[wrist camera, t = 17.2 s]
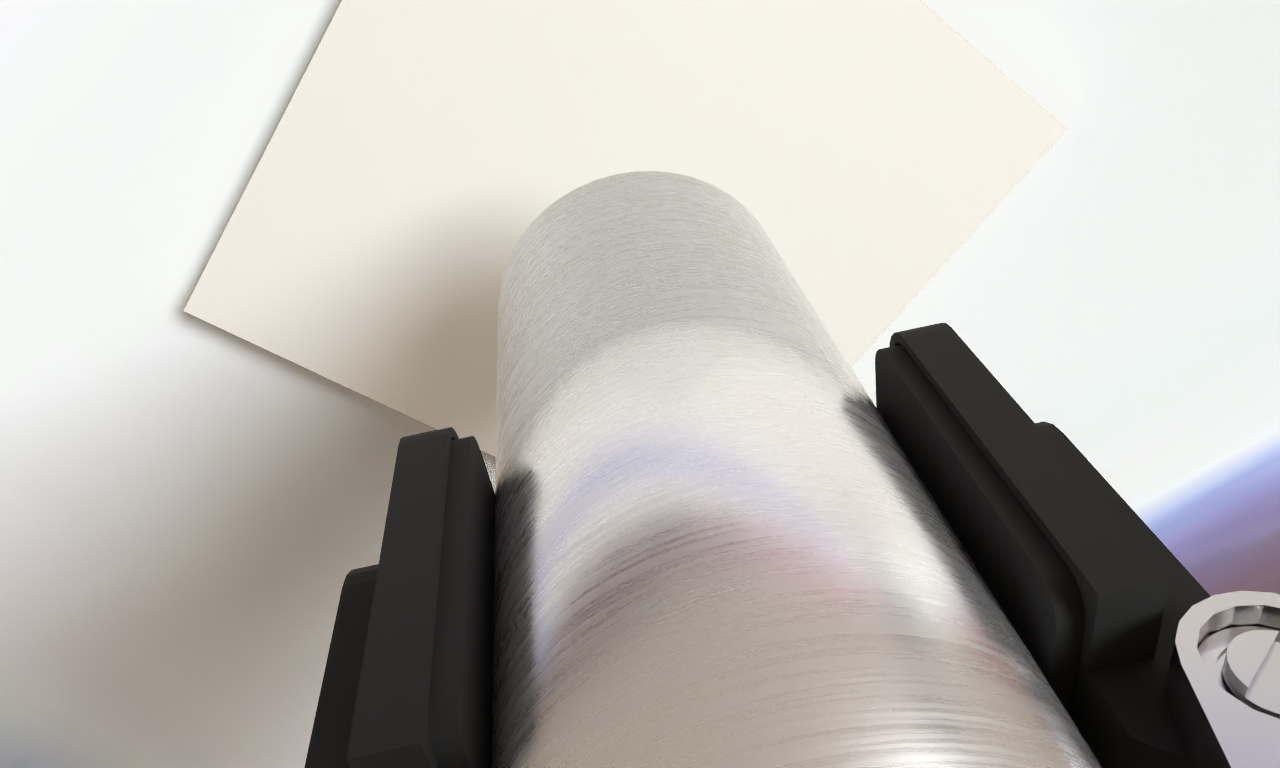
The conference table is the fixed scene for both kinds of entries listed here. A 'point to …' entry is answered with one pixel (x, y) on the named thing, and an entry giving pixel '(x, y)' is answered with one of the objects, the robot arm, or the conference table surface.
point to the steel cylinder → (722, 521)
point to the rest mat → (600, 168)
